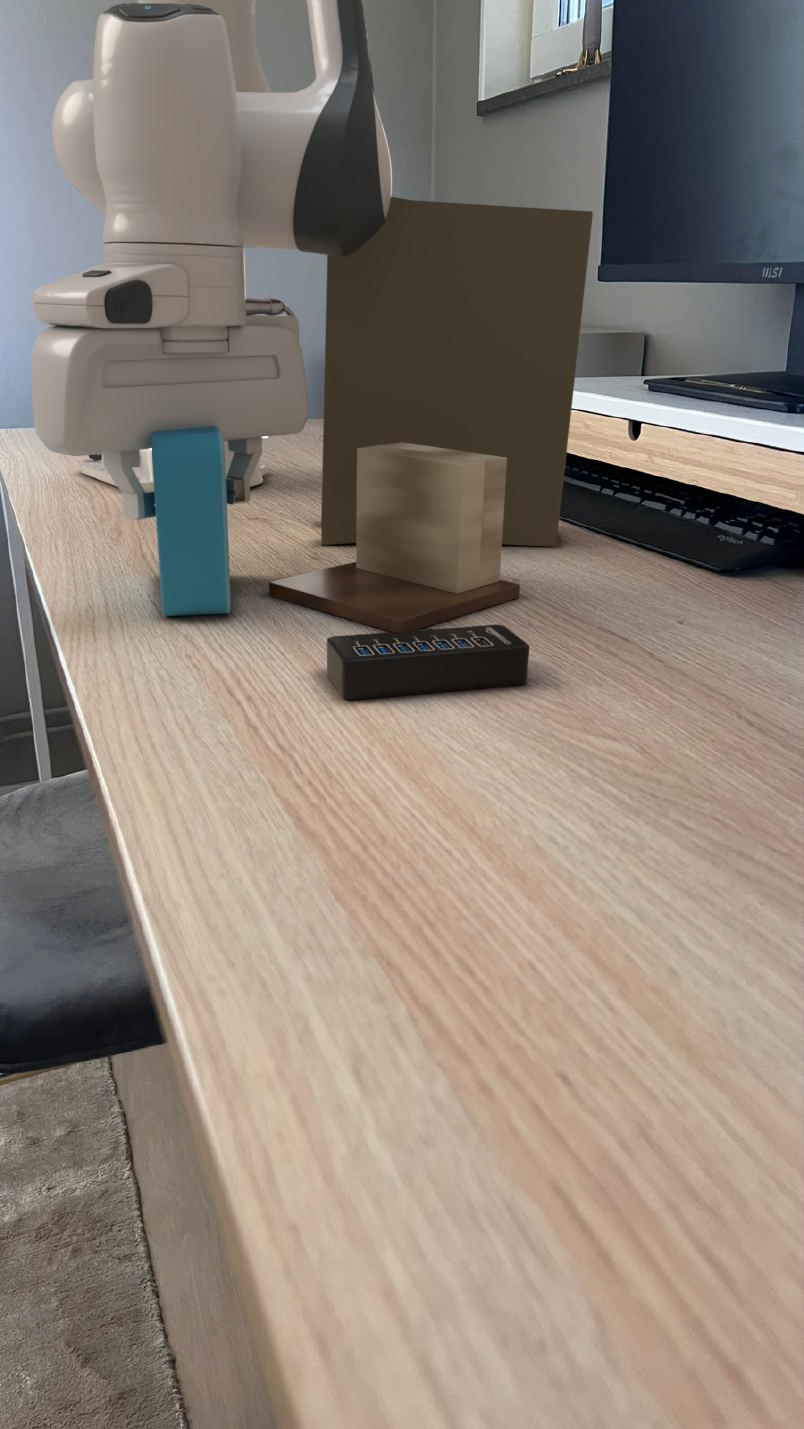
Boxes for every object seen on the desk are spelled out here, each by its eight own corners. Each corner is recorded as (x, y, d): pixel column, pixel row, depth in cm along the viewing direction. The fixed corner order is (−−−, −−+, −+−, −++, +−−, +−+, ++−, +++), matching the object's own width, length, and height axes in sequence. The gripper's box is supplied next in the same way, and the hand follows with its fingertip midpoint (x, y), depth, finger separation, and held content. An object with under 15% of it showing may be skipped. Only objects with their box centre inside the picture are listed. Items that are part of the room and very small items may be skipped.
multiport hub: (325, 673, 60) (325, 635, 59) (500, 659, 63) (502, 623, 62) (344, 700, 56) (344, 660, 55) (529, 684, 59) (532, 645, 58)
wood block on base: (268, 595, 75) (265, 455, 71) (389, 565, 84) (392, 439, 80) (401, 635, 67) (405, 479, 63) (519, 597, 76) (529, 459, 72)
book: (542, 530, 100) (576, 212, 90) (563, 553, 92) (603, 203, 81) (321, 522, 99) (328, 196, 88) (321, 545, 90) (329, 186, 79)
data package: (161, 576, 79) (150, 414, 75) (220, 574, 80) (213, 414, 76) (162, 622, 68) (150, 436, 64) (231, 619, 69) (224, 436, 65)
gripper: (267, 297, 76) (272, 487, 81) (6, 292, 62) (32, 522, 67) (327, 299, 72) (328, 498, 77) (63, 294, 58) (86, 538, 63)
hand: (188, 510), depth 72 cm, fingers closed on data package, 7 cm apart
